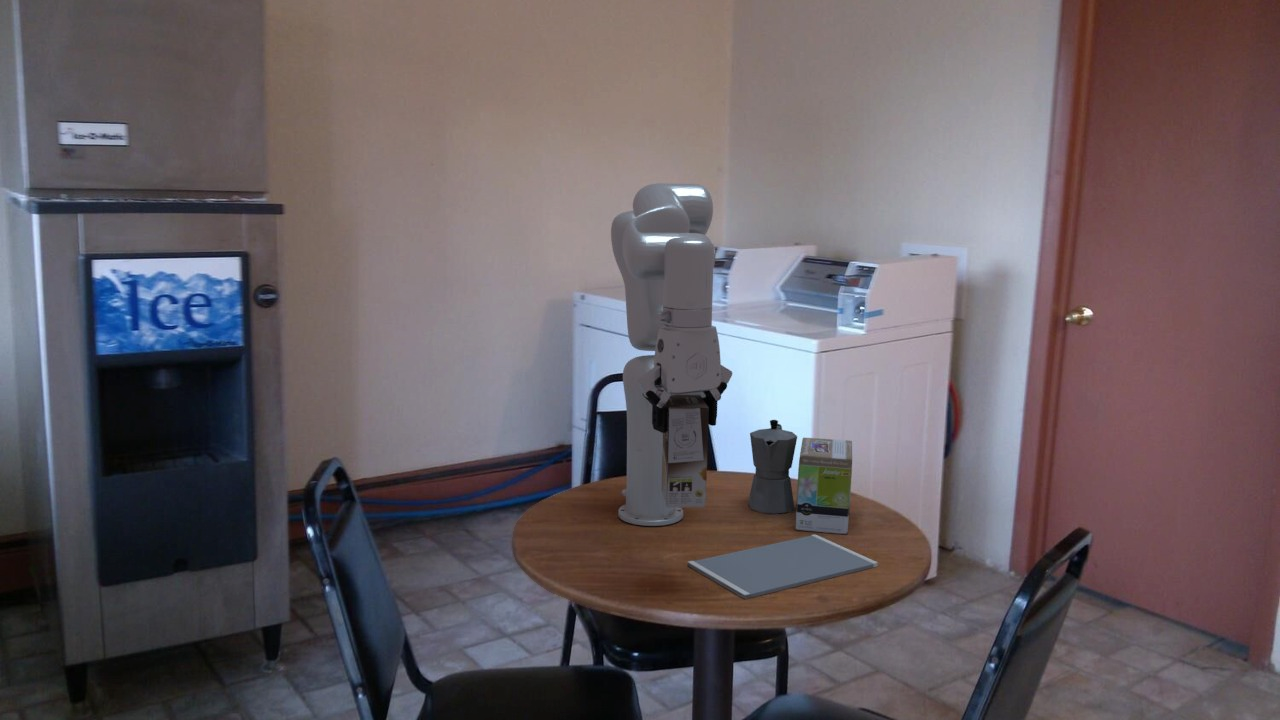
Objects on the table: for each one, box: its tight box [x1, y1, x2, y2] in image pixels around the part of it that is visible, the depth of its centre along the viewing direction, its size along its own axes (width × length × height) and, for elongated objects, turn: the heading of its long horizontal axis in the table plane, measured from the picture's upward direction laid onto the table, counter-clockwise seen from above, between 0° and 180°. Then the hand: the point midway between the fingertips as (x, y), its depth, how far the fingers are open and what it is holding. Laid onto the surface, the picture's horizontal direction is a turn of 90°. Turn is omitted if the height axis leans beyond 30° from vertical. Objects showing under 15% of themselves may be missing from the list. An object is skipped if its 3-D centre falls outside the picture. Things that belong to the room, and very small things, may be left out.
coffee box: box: [662, 395, 709, 508], centre depth 156 cm, size 9×6×16 cm
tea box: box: [795, 437, 853, 535], centre depth 190 cm, size 15×10×15 cm, turn 168°
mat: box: [687, 534, 879, 600], centre depth 167 cm, size 16×28×1 cm, turn 121°
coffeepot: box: [747, 419, 798, 515], centre depth 198 cm, size 15×9×18 cm, turn 165°
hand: (684, 426), depth 155 cm, fingers closed on coffee box, 8 cm apart
